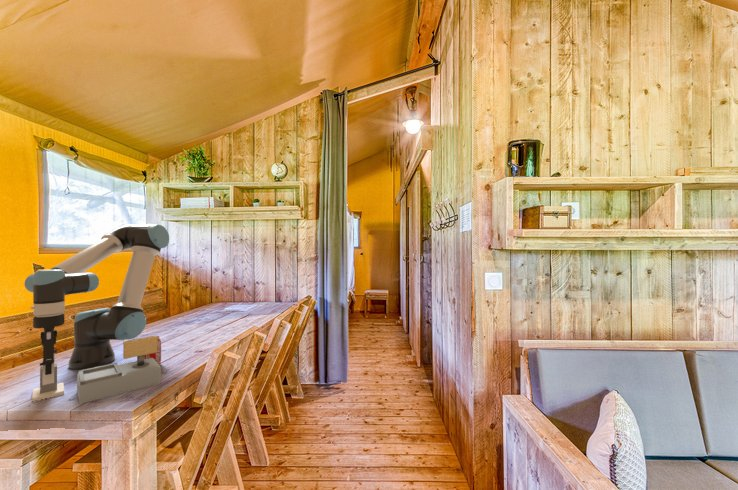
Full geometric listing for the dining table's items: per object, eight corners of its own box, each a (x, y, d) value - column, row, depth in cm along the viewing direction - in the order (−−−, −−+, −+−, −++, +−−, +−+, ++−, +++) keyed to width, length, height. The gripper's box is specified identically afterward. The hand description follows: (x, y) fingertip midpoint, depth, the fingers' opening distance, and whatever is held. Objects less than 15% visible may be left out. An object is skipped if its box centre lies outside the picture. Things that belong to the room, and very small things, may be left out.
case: (77, 390, 109) (77, 370, 109) (152, 372, 124) (152, 355, 124) (79, 404, 99) (79, 382, 99) (161, 383, 114) (161, 364, 114)
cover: (33, 393, 107) (33, 365, 107) (63, 386, 113) (63, 359, 113) (32, 403, 100) (32, 373, 100) (64, 395, 106) (64, 367, 106)
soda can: (150, 370, 127) (150, 340, 127) (136, 368, 128) (136, 339, 129) (165, 363, 134) (165, 335, 134) (151, 362, 135) (151, 334, 136)
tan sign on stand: (123, 367, 113) (123, 340, 113) (156, 360, 120) (156, 335, 120) (124, 369, 111) (124, 342, 112) (157, 362, 118) (157, 336, 119)
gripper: (34, 311, 113) (34, 371, 112) (30, 322, 96) (30, 393, 95) (63, 308, 118) (63, 365, 118) (65, 318, 101) (64, 385, 101)
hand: (48, 378), depth 106 cm, fingers open, 12 cm apart
